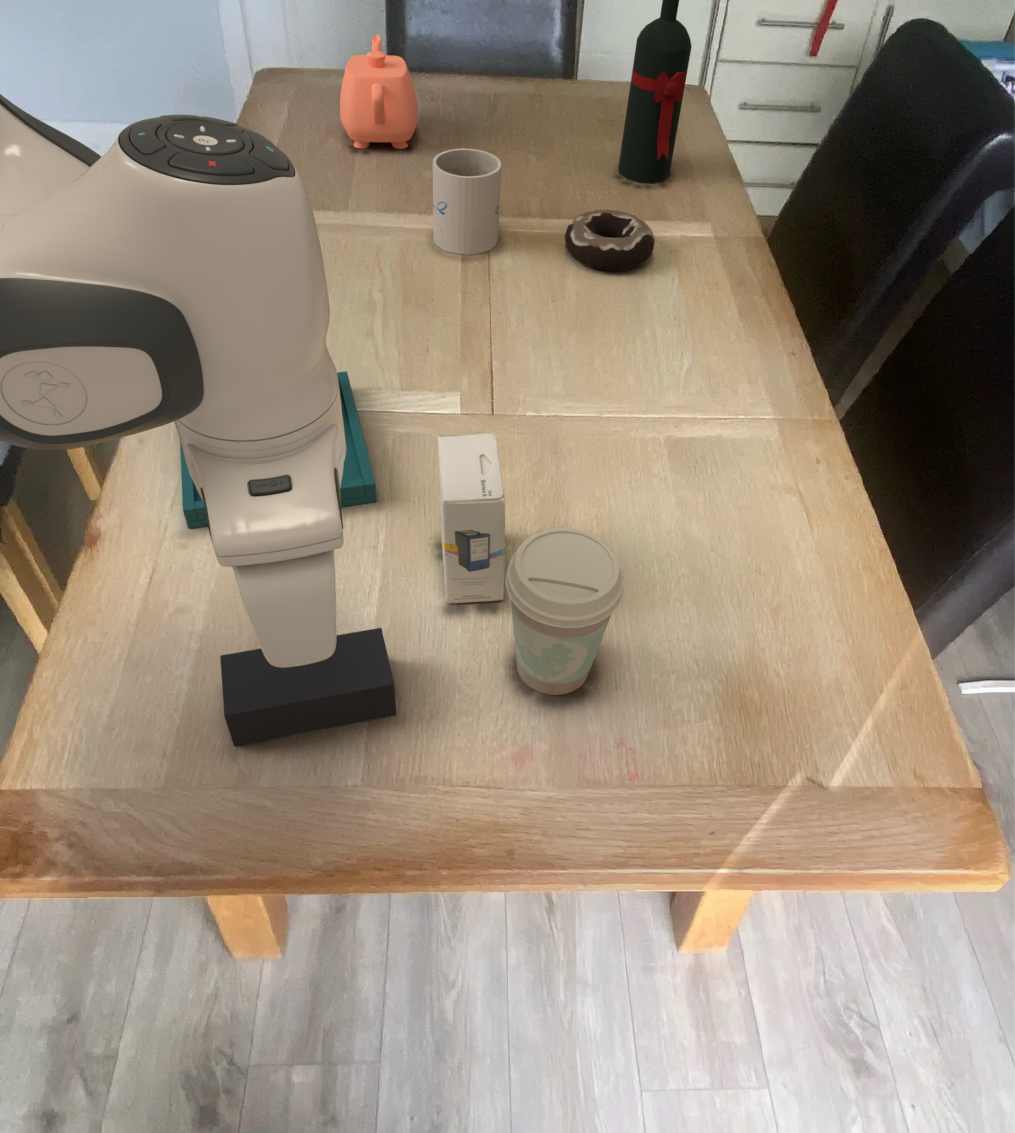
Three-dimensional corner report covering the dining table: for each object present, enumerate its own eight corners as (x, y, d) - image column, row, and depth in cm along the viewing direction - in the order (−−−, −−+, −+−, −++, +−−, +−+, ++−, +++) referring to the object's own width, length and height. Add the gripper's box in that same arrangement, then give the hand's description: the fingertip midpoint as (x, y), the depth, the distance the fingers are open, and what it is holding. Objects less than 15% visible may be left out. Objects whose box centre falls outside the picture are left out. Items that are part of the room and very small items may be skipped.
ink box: (503, 602, 77) (511, 500, 68) (442, 605, 76) (442, 502, 68) (493, 531, 83) (499, 429, 74) (437, 534, 82) (436, 430, 73)
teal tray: (188, 529, 81) (182, 510, 79) (182, 408, 93) (177, 389, 91) (376, 501, 85) (375, 483, 83) (348, 389, 96) (347, 371, 95)
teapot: (421, 162, 136) (419, 76, 127) (341, 162, 134) (333, 75, 125) (415, 111, 149) (414, 29, 140) (343, 110, 148) (336, 28, 139)
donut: (621, 286, 114) (626, 257, 111) (545, 255, 118) (548, 226, 115) (668, 253, 120) (673, 224, 117) (594, 224, 125) (598, 196, 122)
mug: (496, 256, 117) (500, 179, 110) (430, 252, 117) (429, 175, 110) (499, 213, 126) (503, 139, 118) (437, 209, 126) (437, 135, 118)
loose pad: (233, 746, 66) (224, 716, 63) (229, 686, 70) (219, 655, 67) (396, 715, 69) (394, 684, 66) (384, 658, 72) (381, 626, 69)
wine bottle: (632, 191, 132) (669, -50, 111) (610, 162, 139) (641, -71, 117) (682, 188, 134) (728, -51, 112) (658, 159, 141) (697, -71, 119)
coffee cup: (477, 666, 72) (481, 563, 63) (547, 608, 77) (560, 505, 68) (558, 730, 68) (574, 630, 60) (627, 665, 73) (651, 564, 64)
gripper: (197, 335, 56) (237, 498, 66) (214, 571, 43) (261, 730, 53) (300, 324, 58) (324, 486, 68) (346, 550, 44) (368, 709, 54)
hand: (296, 595), depth 60 cm, fingers open, 8 cm apart
